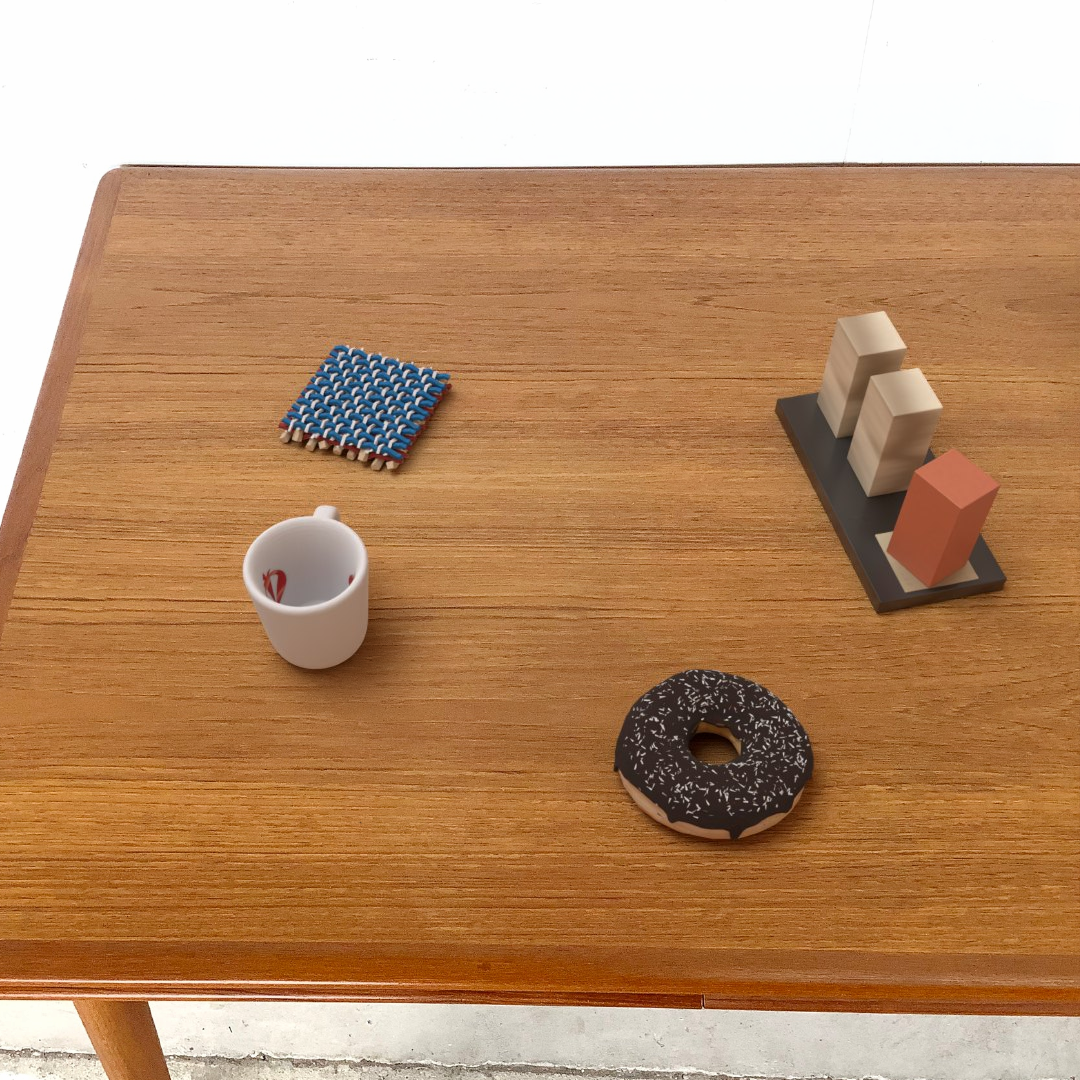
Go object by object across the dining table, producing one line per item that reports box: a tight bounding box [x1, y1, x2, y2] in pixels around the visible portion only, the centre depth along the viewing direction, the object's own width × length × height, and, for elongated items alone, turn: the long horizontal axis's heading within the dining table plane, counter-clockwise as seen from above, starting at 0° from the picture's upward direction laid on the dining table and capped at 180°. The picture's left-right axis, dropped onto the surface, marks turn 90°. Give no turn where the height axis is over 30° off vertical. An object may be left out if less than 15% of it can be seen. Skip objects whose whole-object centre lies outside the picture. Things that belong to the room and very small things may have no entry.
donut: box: [612, 668, 815, 842], centre depth 80 cm, size 11×12×4 cm
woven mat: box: [277, 344, 453, 471], centre depth 100 cm, size 10×11×2 cm
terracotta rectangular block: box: [886, 447, 1001, 588], centre depth 86 cm, size 4×4×8 cm
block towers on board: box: [774, 310, 1008, 614], centre depth 90 cm, size 9×20×9 cm, turn 11°
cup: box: [242, 504, 370, 670], centre depth 86 cm, size 11×8×8 cm
